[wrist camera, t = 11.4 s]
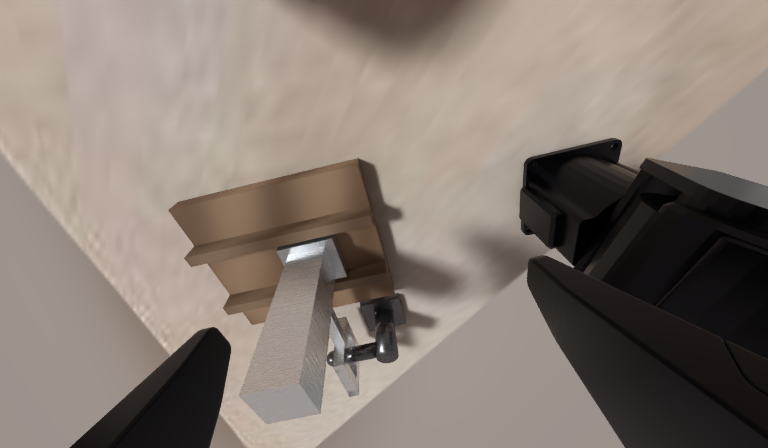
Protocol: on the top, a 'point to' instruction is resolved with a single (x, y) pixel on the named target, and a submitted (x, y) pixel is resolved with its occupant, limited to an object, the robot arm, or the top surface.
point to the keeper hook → (378, 331)
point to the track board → (286, 235)
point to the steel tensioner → (301, 336)
